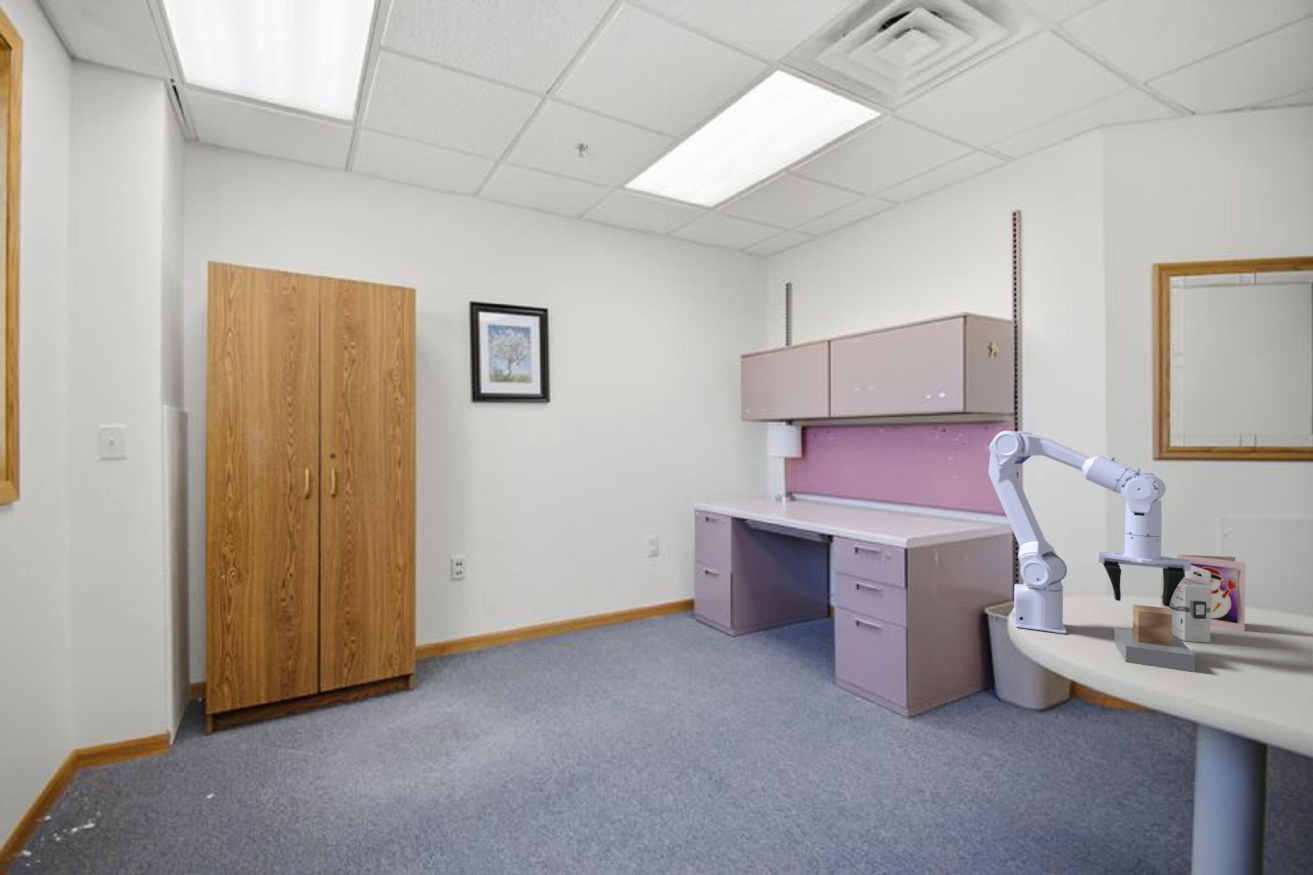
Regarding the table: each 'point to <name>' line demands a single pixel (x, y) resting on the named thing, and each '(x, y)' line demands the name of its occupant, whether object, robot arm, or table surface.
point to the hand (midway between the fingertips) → (1141, 602)
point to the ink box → (1191, 606)
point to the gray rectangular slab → (1154, 652)
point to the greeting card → (1224, 589)
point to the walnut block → (1152, 625)
